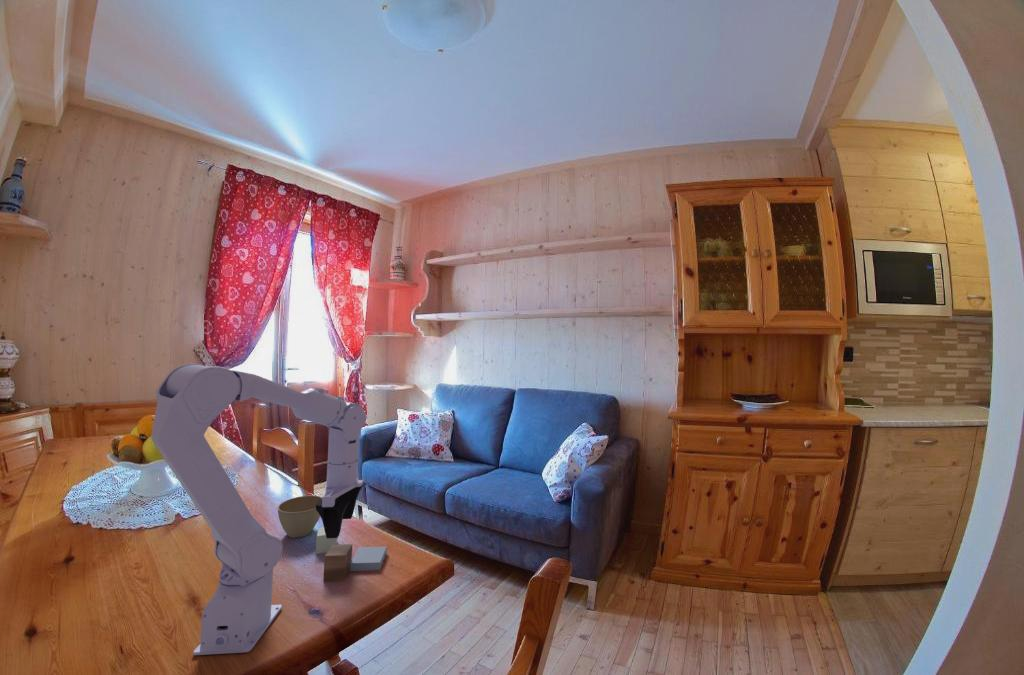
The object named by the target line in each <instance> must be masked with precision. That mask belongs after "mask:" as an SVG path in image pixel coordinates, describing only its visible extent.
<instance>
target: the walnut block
mask: <svg viewBox="0 0 1024 675" xmlns="http://www.w3.org/2000/svg"><path fill="white" fill-rule="evenodd" d="M352 559H353V543H349V544H348V543H347V544H345V543H342V544H338V543H337V545H332V546H331V548H330V549H329V550H328V552H326V554H325V555H324V561H323V562H324V563H323V582H341V581H343V582H344V581H345V580H346V579H347V577H348V575H349V573H350V572H351V571H350V563H351V561H352Z"/></svg>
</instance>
